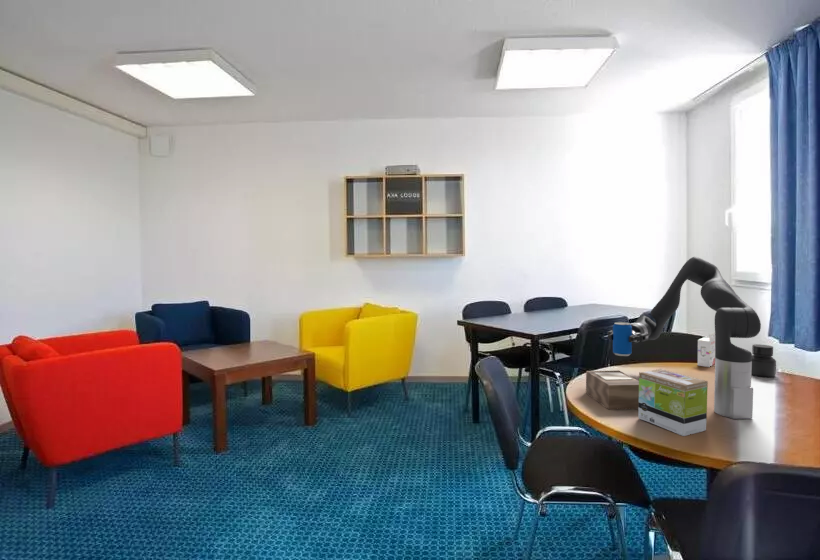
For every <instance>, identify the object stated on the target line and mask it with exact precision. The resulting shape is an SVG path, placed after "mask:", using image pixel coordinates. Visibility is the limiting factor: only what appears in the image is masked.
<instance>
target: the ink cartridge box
mask: <svg viewBox="0 0 820 560" xmlns="http://www.w3.org/2000/svg"><path fill="white" fill-rule="evenodd" d="M715 356H716V351H715V331H713V332H711V333H708V337H702V338H699V339H697V367H698V366H699V367H706V368H711V367H712V366H715V358H716V357H715ZM710 366H711V367H710Z"/></svg>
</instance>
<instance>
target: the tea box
mask: <svg viewBox="0 0 820 560" xmlns="http://www.w3.org/2000/svg"><path fill="white" fill-rule="evenodd" d="M638 373H639V374H638V381H639V403H638V409H637V411H638V412H637V413H638V415H637V416H638V419H639V420H641V421H645V422H648V423H650V424H653V425H655V426H658V427H660V428H662V429H665V430H666V431H667V430H668V431H670V432H671V433H672V432H673V433H674V434H676V435H679V436H682V437H685V436H690V434H691V435H693V434H698V433H701V432H704V431H707V418H708V417H707V414H708V412H707V411H708V389H709V388H708V385H709V384H708V383H709V382H708V380H704V379H701V378H698V377H694V376H690V375H685V374H682V373H678V372H674V371H670V370H666V369H663V368H659V369H653V370H648V371H643V372H638Z"/></svg>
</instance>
